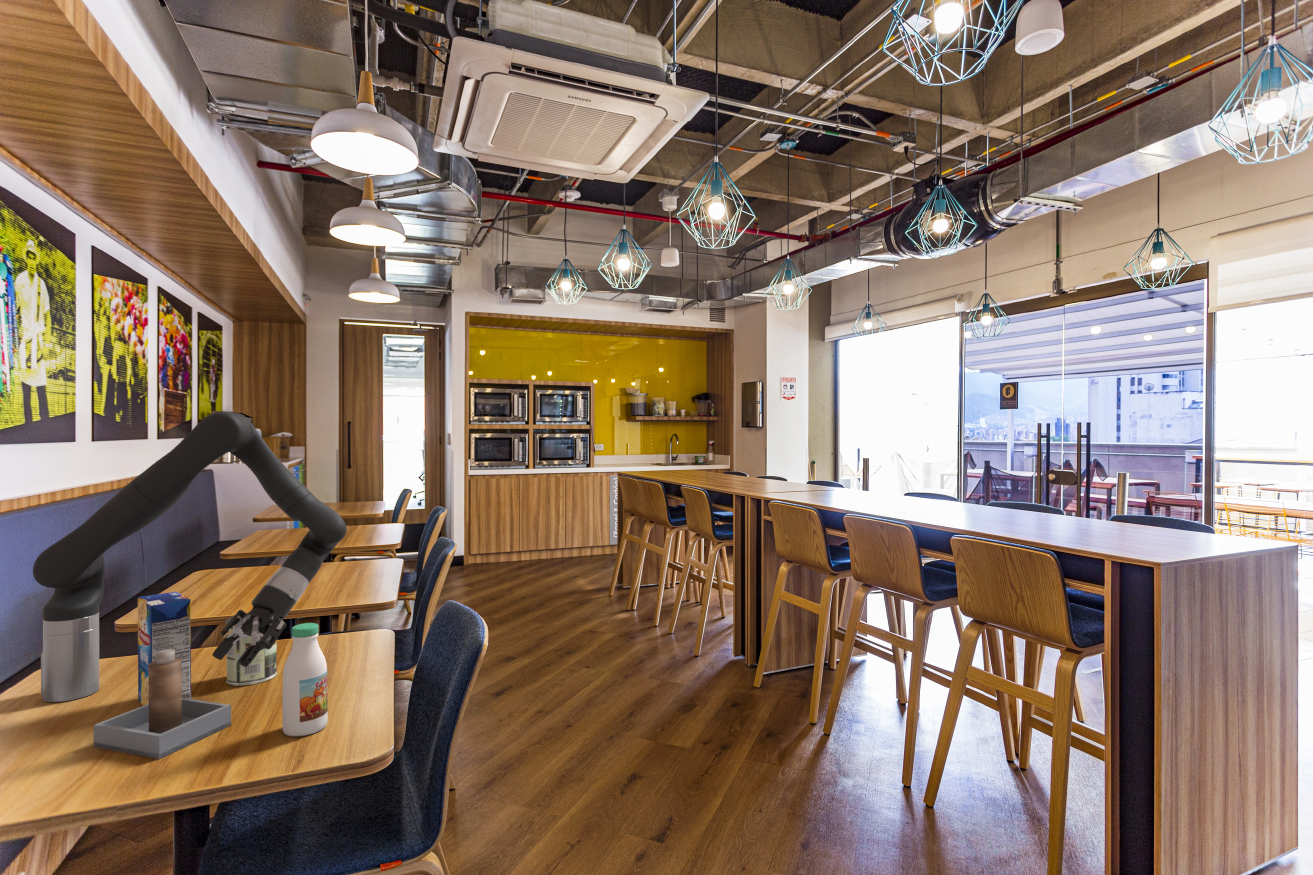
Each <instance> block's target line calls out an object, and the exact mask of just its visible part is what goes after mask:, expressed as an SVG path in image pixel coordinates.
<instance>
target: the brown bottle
mask: <svg viewBox="0 0 1313 875" xmlns="http://www.w3.org/2000/svg"><path fill="white" fill-rule="evenodd" d="M148 676H149V732H153V733H159V734H161V733H164V732H166V731H168V730H171V729H173V728H175V727H177V726H180V725H182V682H181V659H179V658H175V650H173V649H169V650H162V651H158V652H156V653H155V662H152V663H150V664H149V665H148Z"/></svg>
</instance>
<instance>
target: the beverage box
mask: <svg viewBox="0 0 1313 875" xmlns="http://www.w3.org/2000/svg"><path fill="white" fill-rule="evenodd" d="M191 603H192V602H191V598H188V597H187V596H185V595H183V594H182V593H180V592H178V591H171V592H164V593H157V594H151V595H145V596H138V597H137V679H138V680H137V685H138V686H137V697H138V698H137V700H138V701H139V703H141V705H142V706H144V705H147V704H149V676H148V665H149V664H150V663H152V662H155V653H156V652H158V651H162V650H169V649H173V650H175V658H179V659H181V682H182V698H188V699H192V666H191V665H192V659H191V658H192V651H191V650H192V649H191V648H192V647H191V646H192V641H191V640H192V637H191V636H192V633H191V632H192V624H191V623H192V615H191V614H192V613H191V610H192V607H191V606H192V605H191Z"/></svg>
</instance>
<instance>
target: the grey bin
mask: <svg viewBox="0 0 1313 875" xmlns="http://www.w3.org/2000/svg"><path fill="white" fill-rule="evenodd" d="M230 726H232V705H231V704H227V703H221V702H214V701H208V700H207V701H206V700H201V699H193V698H191V699H188V698H182V725H180V726H177V727H175V728H173V729H171V730H168V731H166V732H164V733H161V734H159V733H153V732H149V704H147V705H142V706H139V707H136V708H134V709H132V710H129V711H125V712H124V713H121V714H118V715H116V716H113V717H111V718H108V719H106V720H103V721H100V722H98V723H96V724H93V748H97V749H98V748H99V749H102V748H103V750H110V751H113V750H114V751H115V752H120V753H125V754H131V755H136V756H141V757H145V756H146V757H147V758H152V759H156V760H160V759H163V758H165V757H167V756H169V755H172V754H173V753H176V752H178V751H180V750H182V749H184V748H186V747H188V746H190V745H192V744H194V743H197V742H199V741H201V740H203V739H205V738H207V737H209V736H212V735H214V734H216V733H219V732H220V731H222V730H224V729H227V728H229V727H230Z"/></svg>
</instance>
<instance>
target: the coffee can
mask: <svg viewBox="0 0 1313 875" xmlns="http://www.w3.org/2000/svg"><path fill="white" fill-rule="evenodd" d="M233 617H234V616H232V617H229V618H228V619H226V620H225V626H226V625H227V624H228V623H229V621H230V620H231V619H232V618H233ZM232 629H233V626H232V627H231V628H230V629H229V630H228V631H231V630H232ZM240 629H242V627H241V628H240ZM236 635H238V634H235V636H236ZM235 636H234V637H235ZM252 638H253V637H252V636H247V637H246V638H241V639H240V640H238V641H237V642H235V643H233V644H234V645H233V646H232V647H231V649H230V650H229V651H228V653H227V654H226V655H225V657H226V660H225V661H226V681H225V683H226V684H227V685H230V686H235V687H238V686H239V687H240V686H241V687H244V686H253V685H257V684H261V683H264V682H267V681H270V680H272V679H273V678H275V677H276V676H277V675H278V671H277V670H278V668H277V666H278V665H277V664H278V663H277V659H278V658H277V640H276V641H275V643H274V644H273V646H272V647H271V648H270V649H263V650H262V651H259V652H258V654H257V655H256V656H255V658H254V659H253V660H252V662H251V663H250V664H249V665H248V666H247V667H244V666H242V665H240V664H238V660H239V658H240V657H241V656H242V654H243V653H244V652H245V650H246V649H247V648H248V646H252V645H251V643H252ZM270 639H271V636H269V638H268V640H267V641H268V642H269V641H270Z"/></svg>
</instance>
